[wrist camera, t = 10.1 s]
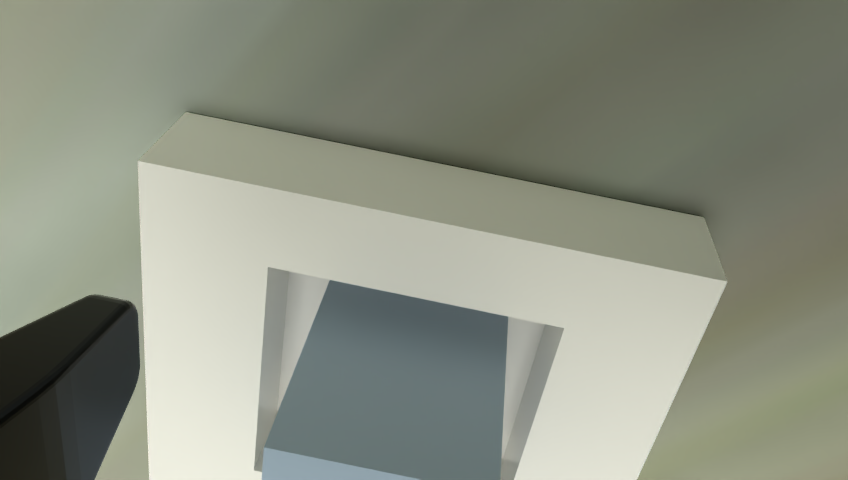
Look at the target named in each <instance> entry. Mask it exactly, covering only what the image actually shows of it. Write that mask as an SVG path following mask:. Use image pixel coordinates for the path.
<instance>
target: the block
mask: <svg viewBox="0 0 848 480" xmlns="http://www.w3.org/2000/svg"><path fill="white" fill-rule="evenodd" d="M507 333H508V316H503V315H498V314H493V313H488V312H484V311H479V310H474V309H469V308H464V307H459V306H454V305H450V304H445V303H440V302H435V301H430V300H425V299H421V298H416V297H411V296H406V295H401V294H396V293H391V292H387V291H382V290H377V289H372V288H367V287H362V286H358V285H353V284H348V283H343V282H338V281H333V280H330V281H329V283H328V286H327V288H326V291H325V293H324V296H323V298H322V301H321V303H320V306H319V309H318V311H317V314H316V316H315V319H314V321H313V324H312V326H311V329H310V331H309V334H308V336H307V339H306V341H305V344H304V347H303V349H302V352H301V354H300V357H299V359H298V362H297V364H296V367H295V369H294V372H293V374H292V377H291V380H290V382H289V385H288V387H287V390H286V392H285V395H284V397H283V400H282V402H281V405H280V407H279V410H278V412H277V415H276V418H275V420H274V423H273V425H272V428H271V430H270V433H269V435H268V438H267V440H266V443H265V445H264V451H263V466H262V480H500V476H501V456H502V435H503V415H504V395H505V374H506V354H507Z"/></svg>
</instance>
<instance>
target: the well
mask: <svg viewBox="0 0 848 480" xmlns="http://www.w3.org/2000/svg"><path fill="white" fill-rule="evenodd" d="M138 185H139V212H140V239H141V266H142V294H143V321H144V348H145V375H146V403H147V430H148V457H149V480H262V466H263V451H264V445H265V443H266V440H267V438H268V435H269V433H270V430H271V428H272V425H273V423H274V420H275V418H276V415H277V412H278V410H279V407H280V405H281V402H282V400H283V397H284V395H285V392H286V390H287V387H288V385H289V382H290V380H291V377H292V374H293V372H294V369H295V367H296V364H297V362H298V359H299V357H300V354H301V352H302V349H303V347H304V344H305V341H306V339H307V336H308V334H309V331H310V329H311V326H312V324H313V321H314V319H315V316H316V314H317V311H318V309H319V306H320V303H321V301H322V298H323V296H324V293H325V291H326V288H327V286H328V283H329V281H330V280H333V281H338V282H343V283H348V284H353V285H358V286H362V287H367V288H372V289H377V290H382V291H387V292H391V293H396V294H401V295H406V296H411V297H416V298H421V299H425V300H430V301H435V302H440V303H445V304H450V305H454V306H459V307H464V308H469V309H474V310H479V311H484V312H488V313H493V314H498V315H503V316H508V333H507V354H506V374H505V395H504V415H503V435H502V456H501V476H500V480H637V478H638V476H639V474H640V472H641V469H642V467H643V465H644V463H645V461H646V459H647V456H648V454H649V452H650V450H651V448H652V445H653V443H654V441H655V439H656V437H657V435H658V432H659V430H660V428H661V426H662V424H663V421H664V419H665V417H666V415H667V413H668V411H669V408H670V406H671V404H672V402H673V400H674V397H675V395H676V393H677V391H678V389H679V387H680V384H681V382H682V380H683V378H684V376H685V373H686V371H687V369H688V367H689V365H690V363H691V360H692V358H693V356H694V354H695V352H696V349H697V347H698V345H699V343H700V341H701V339H702V336H703V334H704V332H705V330H706V328H707V325H708V323H709V321H710V319H711V317H712V315H713V312H714V310H715V308H716V306H717V304H718V301H719V299H720V297H721V295H722V293H723V291H724V288H725V286H726V284H727V279H726V276H725V273H724V271H723V268H722V265H721V262H720V260H719V257H718V254H717V251H716V249H715V246H714V243H713V241H712V238H711V235H710V232H709V230H708V227H707V224H706V221H705V219H704V217H700V216H695V215H690V214H685V213H680V212H675V211H670V210H665V209H660V208H655V207H651V206H646V205H641V204H636V203H631V202H626V201H621V200H616V199H611V198H606V197H601V196H596V195H592V194H587V193H582V192H577V191H572V190H567V189H562V188H557V187H552V186H547V185H542V184H538V183H533V182H528V181H523V180H518V179H513V178H508V177H503V176H498V175H493V174H488V173H483V172H479V171H474V170H469V169H464V168H459V167H454V166H449V165H444V164H439V163H434V162H429V161H425V160H420V159H415V158H410V157H405V156H400V155H395V154H390V153H385V152H380V151H375V150H370V149H366V148H361V147H356V146H351V145H346V144H341V143H336V142H331V141H326V140H321V139H316V138H312V137H307V136H302V135H297V134H292V133H287V132H282V131H277V130H272V129H267V128H262V127H258V126H253V125H248V124H243V123H238V122H233V121H228V120H223V119H218V118H213V117H208V116H203V115H199V114H194V113H189V112H185V113H184V114H183V115H182V116H181V117H180V118H179V119H178V120H177V121H176V123H175V124H174V125H173V126H172V127H171V128H170V129H169V130H168V131H167V132H166V133H165V134H164V135H163V136H162V137H161V138H160V139H159V140H158V141H157V142H156V143H155V144H154V145H153V146H152V147H151V148H150V149H149V150H148V151H147V152H146V153H145V154H144V155H143V156H142V157H141V158H140V159H139V160H138Z"/></svg>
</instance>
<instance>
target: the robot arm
mask: <svg viewBox="0 0 848 480" xmlns="http://www.w3.org/2000/svg"><path fill="white" fill-rule="evenodd" d="M139 370H140V355H139V330H138V313H137V310H136V307H135V305H134V304H133V303H131V302H130V301H127V300H122V299H117V298H113V297H108V296H103V295H89V296H87V297H84V298H82V299H80V300H78V301H76V302H73V303H71V304H69V305H67V306H65V307H63V308H61V309H59V310H57V311H55V312H52V313H50V314H48V315H46V316H44V317H42V318H40V319H38V320H36V321H34V322H31V323H29V324H27V325H25V326H23V327H21V328H19V329H17V330H15V331H13V332H10V333H8V334H6V335H4V336H2V337H0V480H95V477H96V475H97V473H98V471H99V468H100V466H101V464H102V462H103V459H104V457H105V455H106V453H107V450H108V448H109V446H110V444H111V441H112V439H113V437H114V435H115V432H116V430H117V428H118V426H119V423H120V421H121V419H122V417H123V414H124V412H125V410H126V408H127V405H128V403H129V401H130V399H131V396H132V394H133V392H134V389H135V387H136V384H137V381H138V376H139Z"/></svg>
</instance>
